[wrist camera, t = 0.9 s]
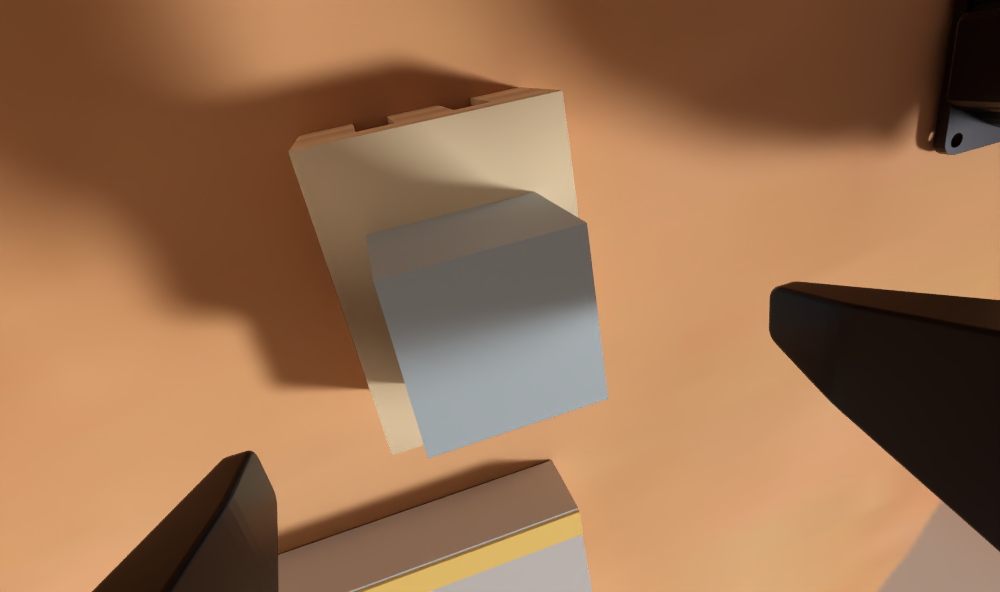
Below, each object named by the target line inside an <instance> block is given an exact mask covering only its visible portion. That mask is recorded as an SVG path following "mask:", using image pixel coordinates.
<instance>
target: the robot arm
mask: <svg viewBox="0 0 1000 592" xmlns="http://www.w3.org/2000/svg"><path fill="white" fill-rule="evenodd" d="M998 142H1000V0H955V4H954V11H953V18H952V24H951V31H950V38H949V45H948V51H947V58H946V65H945V72H944V78H943V85H942V92H941V99H940V106H939V112H938V119H937V126H936V133H935V139H934V148H935V150H936V152H938V153H940V154H948V155H955V154H959V153H962V152H966V151H969V150H973V149H976V148H980V147H983V146H987V145H991V144H994V143H998ZM769 331H770V335H771V337H772V339H773V341H774V342H775V343H776V344H777V345H778V346H779V348H780V349H781V350H782V351H783V352H784V353H785V354H786V355H787V356H788V357H789V358H790V359H791V360H792V361H793V363H794V364H795V365H796V366H797V367H798V368H799V369H800V370H801V371H802V372H803V373H804V374H805V375H806V376H807V378H808V379H809V380H810V381H811V382H812V383H813V384H814V385H815V386H816V387H817V388H818V389H819V390H820V391H821V392H822V393H823V395H824V396H825V397H826V398H827V399H828V400H829V401H830V402H831V403H832V404H834V405H835V406H836V407H837V408H838V409H839V410H840V411H841V412H842V413H843V414H844V415H846V416H847V417H848V418H849V419H850V420H851V421H852V422H853V423H855V424H856V425H857V426H858V427H859V428H860V429H861V430H862V431H864V432H865V433H866V434H867V435H868V436H869V437H870V438H872V439H873V440H874V441H875V442H876V443H877V444H878V445H879V446H881V447H882V448H883V449H884V450H885V451H886V452H887V453H888V454H890V455H891V456H892V457H893V458H894V459H895V460H896V461H898V462H899V463H900V464H901V465H902V466H903V467H904V468H905V469H907V470H908V471H909V472H910V473H911V474H912V475H913V476H914V477H916V478H917V479H918V480H919V481H920V482H921V483H922V484H924V485H925V486H926V487H927V488H928V489H929V490H930V491H931V492H933V493H934V494H935V495H936V496H937V497H938V498H939V499H941V500H942V501H943V502H944V503H945V504H946V505H947V506H949V507H950V508H951V509H952V510H953V511H954V512H955V513H956V514H958V515H959V516H960V517H961V518H962V519H963V520H964V521H965V522H967V523H968V524H969V525H970V526H971V527H972V528H973V529H974V530H976V531H977V532H978V533H979V534H980V535H981V536H982V537H984V538H985V539H986V540H987V541H988V542H989V543H990V544H991V545H993V546H994V547H995V548H996V549H997V550H998V551H1000V300H991V299H981V298H970V297H959V296H948V295H937V294H927V293H916V292H905V291H894V290H883V289H873V288H862V287H851V286H840V285H829V284H819V283H808V282H791V283H787V284H784V285H781V286H778V287H775V288H774V289H773V290H772V292H771V294H770V311H769ZM92 592H279V579H278V527H277V501H276V496H275V492H274V490H273V487H272V485H271V483H270V481H269V479H268V477H267V475H266V473H265V471H264V469H263V466H262V464H261V462H260V460H259V458H258V456H257V455H256V454H255V453H254V452H252V451H245V452H242V453H238V454H235V455H232V456H229V457H226V458H224V459H223V460H221V461H220V462H219V463H218V464H217V465H216V467H215V468H214V469H213V470H212V471H211V472H210V473H209V474H208V475H207V476H206V477H205V478H204V479H203V480H202V481H201V482H200V483H199V484H198V485H197V486H196V487H195V488H194V489H193V490H192V491H191V492H190V493H189V494H188V495H187V496H186V497H185V498H184V499H183V500H182V501H181V502H180V503H179V504H178V505H177V506H176V507H175V508H174V509H173V510H172V511H171V512H170V513H169V514H168V515H167V516H166V517H165V518H164V519H163V520H162V521H161V522H160V523H159V524H158V525H157V526H156V527H155V528H154V529H153V530H152V531H151V532H150V533H149V534H148V535H147V536H146V537H145V538H144V539H143V541H142V542H141V543H140V544H139V545H138V546H137V547H136V548H135V549H134V550H133V551H132V552H131V553H130V554H129V555H128V556H127V557H126V558H125V559H124V560H123V561H122V562H121V563H120V564H119V565H118V566H117V567H116V568H115V569H114V570H113V571H112V572H111V573H110V574H109V575H108V576H107V577H106V578H105V579H104V580H103V581H102V582H101V583H100V584H99V585H98V586H97V587H96V588H95V589H94V590H93V591H92Z"/></svg>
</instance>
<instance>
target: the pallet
mask: <svg viewBox="0 0 1000 592" xmlns="http://www.w3.org/2000/svg"><path fill="white" fill-rule="evenodd" d="M470 103H471V106H470V107H466V108H461V109H457V110H452V109H449V108H446V107H442V106H439V105H436V106H431V107H427V108H422V109H418V110H413V111H409V112H404V113H399V114H395V115H390V116H387V119H388V123H389V125H385V126H380V127H376V128H371V129H367V130H362V131H358V132H355V129H354V125H353V124H349V125H345V126H340V127H336V128H331V129H327V130H322V131H317V132H313V133H308V134H304V135H299V137H298V138H297V139H296V141H295V142H294V144H293V145H292V147H291V148H290V150H289V151H288V153H289V156H290V159H291V162H292V165H293V168H294V171H295V174H296V176H297V179H298V182H299V185H300V188H301V191H302V194H303V197H304V200H305V203H306V206H307V209H308V211H309V214H310V217H311V220H312V223H313V226H314V229H315V232H316V235H317V238H318V241H319V244H320V246H321V249H322V252H323V255H324V258H325V261H326V264H327V267H328V270H329V273H330V276H331V279H332V281H333V284H334V287H335V290H336V293H337V296H338V299H339V302H340V305H341V308H342V311H343V314H344V316H345V319H346V322H347V325H348V328H349V331H350V334H351V337H352V340H353V343H354V346H355V349H356V351H357V354H358V357H359V360H360V363H361V366H362V369H363V372H364V375H365V378H366V381H367V384H368V386H369V389H370V392H371V395H372V398H373V401H374V404H375V407H376V410H377V413H378V416H379V419H380V421H381V424H382V427H383V430H384V433H385V436H386V439H387V442H388V445H389V448H390V451H391V454H392V455H395V454H398V453H401V452H404V451H407V450H410V449H413V448H416V447H419V446H423V445H424V444H423V440H422V437H421V434H420V431H419V428H418V424H417V421H416V418H415V415H414V411H413V408H412V405H411V402H410V398H409V395H408V392H407V389H406V385H405V382H404V379H403V376H402V372H401V369H400V366H399V363H398V359H397V356H396V353H395V350H394V346H393V343H392V340H391V337H390V333H389V330H388V327H387V324H386V320H385V317H384V314H383V311H382V307H381V304H380V301H379V298H378V294H377V291H376V288H375V285H374V281H373V276H372V270H371V264H370V257H369V251H368V245H367V239H366V235H367V234H371V233H375V232H379V231H383V230H387V229H391V228H395V227H399V226H403V225H407V224H410V223H414V222H418V221H422V220H426V219H430V218H434V217H438V216H442V215H446V214H450V213H454V212H457V211H461V210H465V209H469V208H473V207H477V206H481V205H485V204H489V203H493V202H497V201H501V200H505V199H508V198H512V197H516V196H520V195H524V194H528V193H532V192H536V193H538V194H539V195H541V196H543V197H544V198H546V199H548V200H549V201H551V202H553V203H554V204H556V205H558V206H559V207H561V208H563V209H564V210H566V211H568V212H569V213H571V214H573V215H575V216H576V217H578V218H579V215H578V208H577V200H576V192H575V184H574V176H573V168H572V161H571V153H570V145H569V137H568V129H567V122H566V114H565V106H564V98H563V90H549V89H534V88H513V89H509V90H504V91H500V92H495V93H491V94H486V95H481V96H477V97H472V98H470Z"/></svg>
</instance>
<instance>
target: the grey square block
mask: <svg viewBox="0 0 1000 592" xmlns="http://www.w3.org/2000/svg"><path fill="white" fill-rule="evenodd" d="M366 239H367V245H368V251H369V257H370V264H371V270H372V276H373V281H374V285H375V288H376V291H377V294H378V298H379V301H380V304H381V307H382V311H383V314H384V317H385V320H386V324H387V327H388V330H389V333H390V337H391V340H392V343H393V346H394V350H395V353H396V356H397V359H398V363H399V366H400V369H401V372H402V376H403V379H404V382H405V385H406V389H407V392H408V395H409V398H410V402H411V405H412V408H413V411H414V415H415V418H416V421H417V424H418V428H419V431H420V434H421V437H422V440H423V444H424V447H425V450H426V453H427V457H428V458H431V457H434V456H437V455H440V454H443V453H446V452H449V451H452V450H455V449H458V448H461V447H464V446H467V445H470V444H473V443H476V442H479V441H482V440H485V439H488V438H491V437H494V436H497V435H500V434H503V433H506V432H509V431H512V430H515V429H518V428H521V427H524V426H527V425H530V424H533V423H536V422H539V421H542V420H545V419H549V418H552V417H555V416H558V415H561V414H564V413H567V412H570V411H573V410H576V409H579V408H582V407H585V406H588V405H591V404H594V403H597V402H600V401H603V400H606V399H608V394H607V385H606V377H605V369H604V361H603V352H602V344H601V336H600V328H599V319H598V311H597V303H596V295H595V287H594V278H593V270H592V262H591V254H590V245H589V237H588V229H587V223H586V222H585V221H583V220H581V219H580V218H578V217H576V216H575V215H573V214H571V213H569V212H568V211H566V210H564V209H563V208H561V207H559V206H558V205H556V204H554V203H553V202H551V201H549V200H548V199H546V198H544V197H543V196H541V195H539V194H538V193H536V192H532V193H528V194H524V195H520V196H516V197H512V198H508V199H505V200H501V201H497V202H493V203H489V204H485V205H481V206H477V207H473V208H469V209H465V210H461V211H457V212H454V213H450V214H446V215H442V216H438V217H434V218H430V219H426V220H422V221H418V222H414V223H410V224H407V225H403V226H399V227H395V228H391V229H387V230H383V231H379V232H375V233H371V234H367V235H366Z"/></svg>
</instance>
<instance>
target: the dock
mask: <svg viewBox="0 0 1000 592" xmlns="http://www.w3.org/2000/svg"><path fill="white" fill-rule="evenodd" d="M278 579H279V592H592V588H591V582H590V576H589V570H588V564H587V558H586V552H585V546H584V540H583V529H582V523H581V517H580V512H579V510H578V507H577V505H576V503H575V501H574V500H573V498H572V496H571V494H570V492H569V491H568V489H567V487H566V485H565V483H564V481H563V480H562V478H561V476H560V474H559V472H558V471H557V469H556V467H555V465H554V463H553V461H552V460H551V461H548V462H545V463H542V464H539V465H536V466H533V467H531V468H528V469H525V470H522V471H519V472H516V473H513V474H510V475H507V476H505V477H502V478H499V479H496V480H493V481H490V482H487V483H484V484H481V485H479V486H476V487H473V488H470V489H467V490H464V491H461V492H458V493H455V494H453V495H450V496H447V497H444V498H441V499H438V500H435V501H432V502H429V503H427V504H424V505H421V506H418V507H415V508H412V509H409V510H406V511H403V512H401V513H398V514H395V515H392V516H389V517H386V518H383V519H380V520H377V521H375V522H372V523H369V524H366V525H363V526H360V527H357V528H354V529H351V530H349V531H346V532H343V533H340V534H337V535H334V536H331V537H328V538H325V539H323V540H320V541H317V542H314V543H311V544H308V545H305V546H302V547H299V548H297V549H294V550H291V551H288V552H285V553H282V554H279V555H278Z"/></svg>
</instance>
